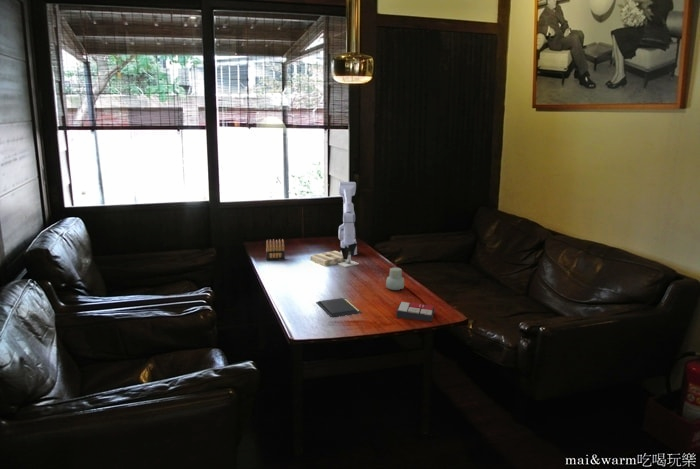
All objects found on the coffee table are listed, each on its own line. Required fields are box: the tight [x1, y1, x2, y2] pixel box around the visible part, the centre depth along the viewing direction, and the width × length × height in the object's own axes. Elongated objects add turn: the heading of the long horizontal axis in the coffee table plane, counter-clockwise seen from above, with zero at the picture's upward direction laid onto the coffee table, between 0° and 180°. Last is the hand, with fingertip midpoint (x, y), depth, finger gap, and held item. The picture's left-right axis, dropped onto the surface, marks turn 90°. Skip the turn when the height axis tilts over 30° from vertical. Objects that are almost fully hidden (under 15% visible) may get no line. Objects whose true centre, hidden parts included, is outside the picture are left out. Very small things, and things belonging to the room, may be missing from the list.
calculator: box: [395, 301, 435, 322], centre depth 229 cm, size 11×4×15 cm
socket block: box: [309, 250, 346, 267], centre depth 309 cm, size 18×14×3 cm
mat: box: [337, 259, 360, 268], centre depth 302 cm, size 10×7×1 cm
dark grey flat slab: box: [315, 297, 363, 318], centre depth 237 cm, size 20×2×15 cm
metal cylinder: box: [345, 251, 352, 264], centre depth 302 cm, size 3×3×7 cm
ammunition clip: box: [265, 238, 286, 261], centre depth 309 cm, size 11×2×12 cm, turn 102°
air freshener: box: [385, 267, 405, 291], centre depth 262 cm, size 11×8×10 cm
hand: (348, 257), depth 302 cm, fingers open, 7 cm apart
